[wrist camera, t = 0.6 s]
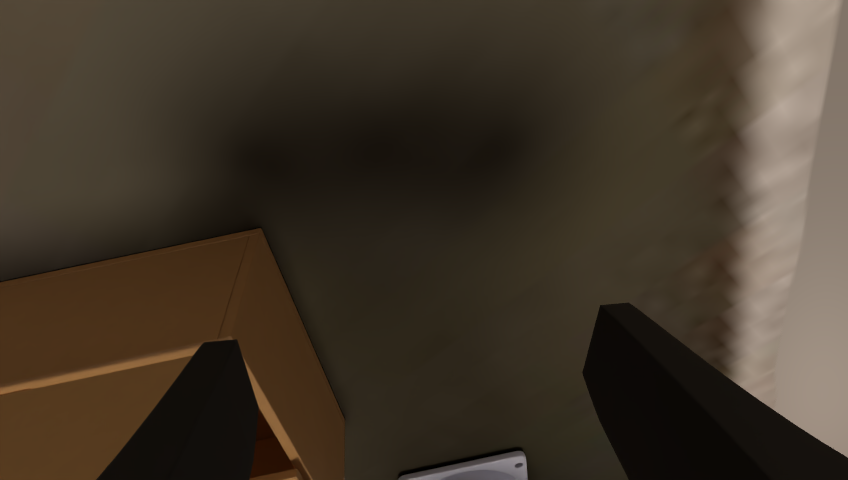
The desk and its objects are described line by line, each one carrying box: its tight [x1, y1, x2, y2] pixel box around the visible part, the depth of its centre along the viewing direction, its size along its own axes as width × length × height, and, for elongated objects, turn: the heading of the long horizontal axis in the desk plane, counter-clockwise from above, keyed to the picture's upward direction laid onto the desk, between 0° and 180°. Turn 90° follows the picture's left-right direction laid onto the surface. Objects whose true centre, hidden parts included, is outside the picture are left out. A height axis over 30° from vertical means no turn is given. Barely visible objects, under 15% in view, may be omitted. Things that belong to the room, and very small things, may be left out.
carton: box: [0, 228, 345, 480], centre depth 20 cm, size 13×13×7 cm
